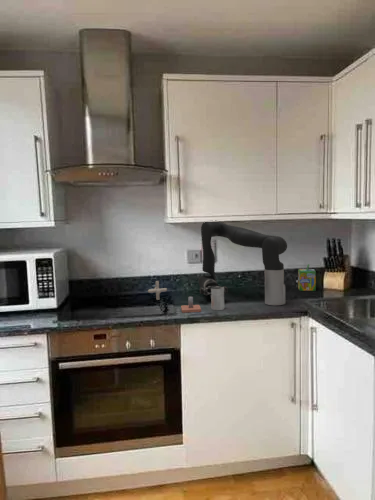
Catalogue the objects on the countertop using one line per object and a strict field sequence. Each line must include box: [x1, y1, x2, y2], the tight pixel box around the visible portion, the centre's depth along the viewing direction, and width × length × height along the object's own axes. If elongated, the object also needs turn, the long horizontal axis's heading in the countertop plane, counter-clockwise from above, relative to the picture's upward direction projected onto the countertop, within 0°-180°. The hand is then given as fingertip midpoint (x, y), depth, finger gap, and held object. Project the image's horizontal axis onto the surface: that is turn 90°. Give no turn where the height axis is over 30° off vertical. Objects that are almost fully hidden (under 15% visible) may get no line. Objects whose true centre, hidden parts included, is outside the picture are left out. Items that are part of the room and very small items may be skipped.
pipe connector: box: [147, 280, 168, 301], centre depth 203 cm, size 10×10×10 cm
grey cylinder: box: [210, 286, 225, 311], centre depth 179 cm, size 6×6×10 cm
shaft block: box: [180, 296, 202, 314], centre depth 178 cm, size 9×9×6 cm
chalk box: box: [297, 263, 317, 292], centre depth 215 cm, size 9×9×15 cm
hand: (215, 293), depth 186 cm, fingers open, 8 cm apart
